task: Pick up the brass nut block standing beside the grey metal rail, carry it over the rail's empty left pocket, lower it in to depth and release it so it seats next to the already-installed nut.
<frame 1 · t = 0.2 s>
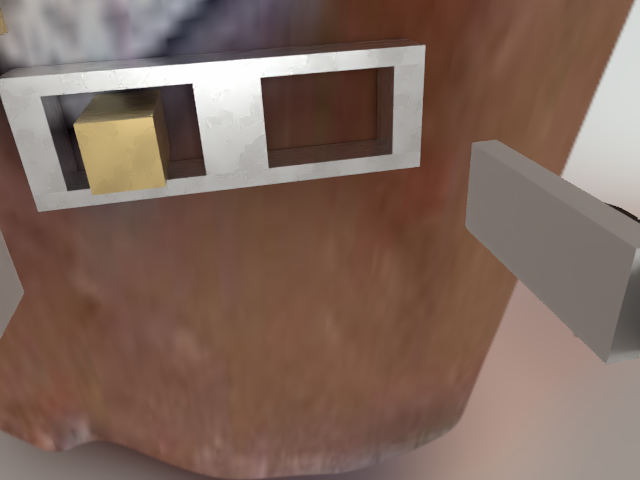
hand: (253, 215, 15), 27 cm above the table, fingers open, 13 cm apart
rail: (229, 113, 40), on the table
seated nut: (134, 122, 39), resting in rail
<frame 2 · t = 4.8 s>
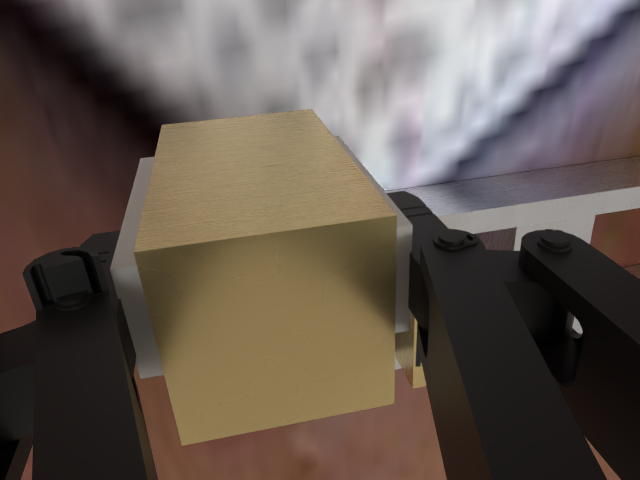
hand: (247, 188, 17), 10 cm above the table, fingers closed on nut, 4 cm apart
rail: (509, 242, 32), on the table
seated nut: (399, 260, 31), resting in rail
nut: (247, 186, 17), point 10 cm above the table, touching gripper
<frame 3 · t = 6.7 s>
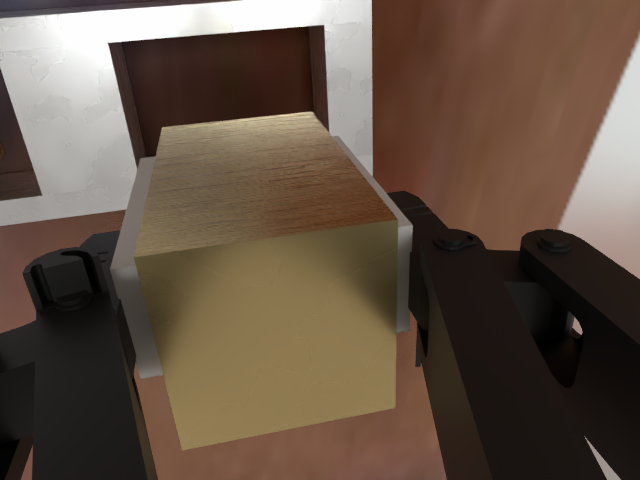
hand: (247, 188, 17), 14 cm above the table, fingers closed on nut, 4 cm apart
rail: (88, 102, 27), on the table
nut: (247, 188, 17), point 13 cm above the table, touching gripper
when the fingers open (2 cm above the table, at t = 10.3 s): nut stays where it is, resting in rail.
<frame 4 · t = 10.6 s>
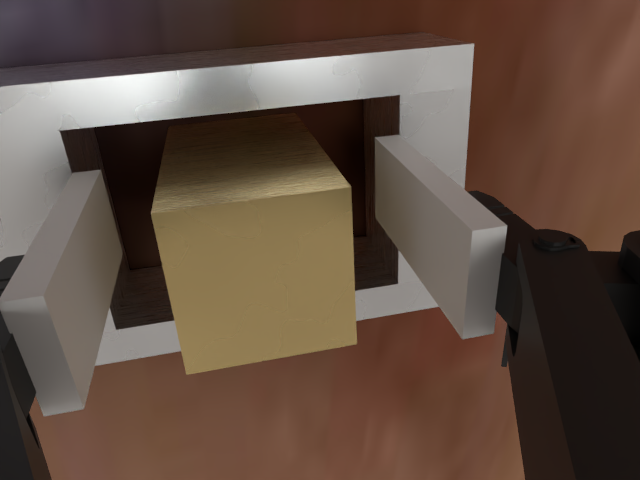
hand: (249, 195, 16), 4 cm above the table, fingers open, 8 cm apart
rail: (44, 200, 19), on the table
nut: (241, 178, 20), resting in rail
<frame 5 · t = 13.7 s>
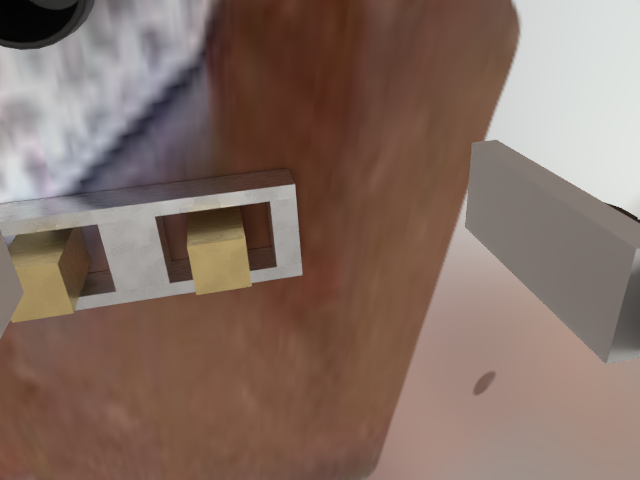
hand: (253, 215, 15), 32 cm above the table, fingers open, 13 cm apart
rail: (139, 234, 48), on the table
seated nut: (58, 244, 47), resting in rail
nut: (216, 224, 49), resting in rail
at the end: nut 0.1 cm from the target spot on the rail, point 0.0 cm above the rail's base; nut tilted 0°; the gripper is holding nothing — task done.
